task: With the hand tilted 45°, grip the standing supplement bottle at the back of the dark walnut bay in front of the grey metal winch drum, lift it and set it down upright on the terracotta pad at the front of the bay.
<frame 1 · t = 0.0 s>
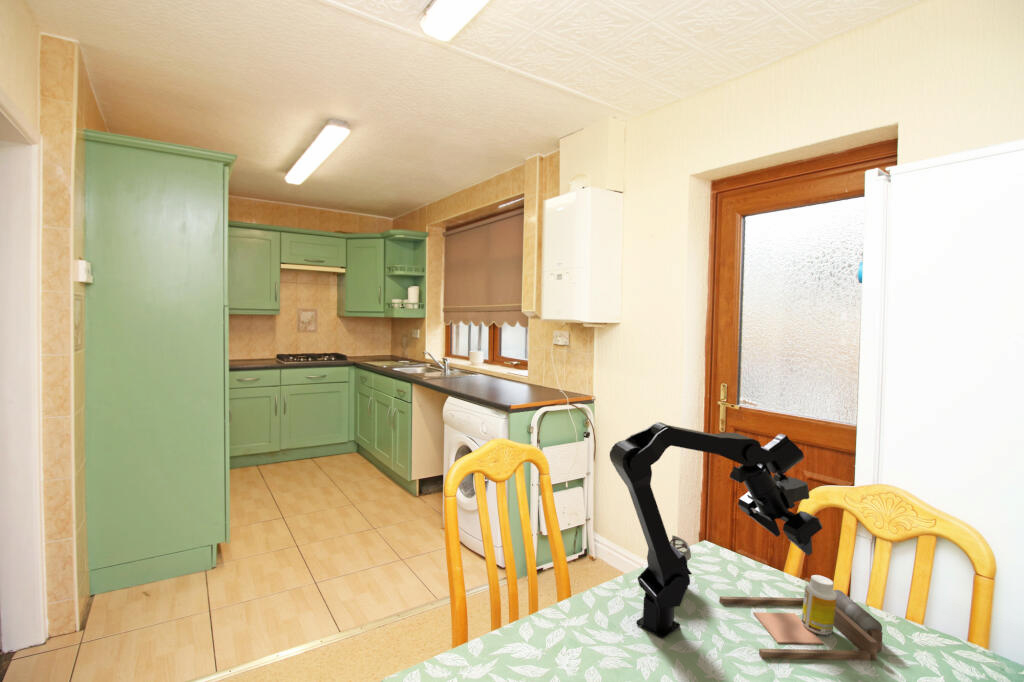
hand: (793, 544, 110), 15 cm above the table, tool tilted 35°, fingers open, 9 cm apart
food container: (675, 589, 119), on the table
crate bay: (796, 628, 105), on the table
supplement bottle: (816, 628, 105), resting in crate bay
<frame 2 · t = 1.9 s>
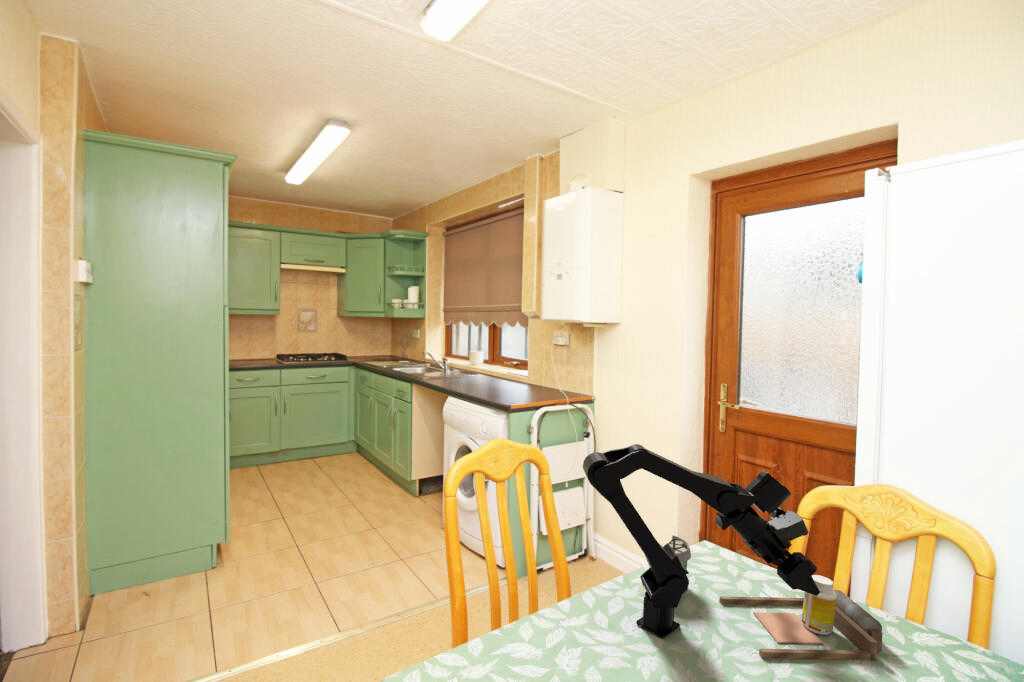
hand: (804, 581, 104), 10 cm above the table, tool tilted 45°, fingers open, 9 cm apart
nothing on the table moved.
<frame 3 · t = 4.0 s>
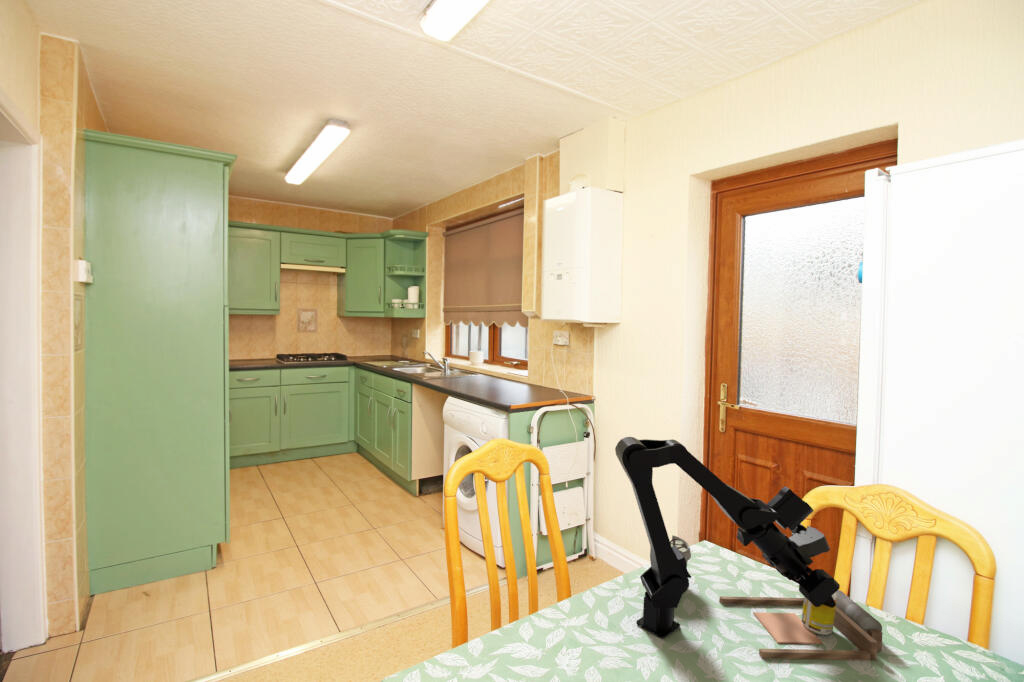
hand: (824, 597, 104), 7 cm above the table, tool tilted 45°, fingers closed on supplement bottle, 5 cm apart
supplement bottle: (816, 628, 105), resting in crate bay, touching gripper
everything else where it was.
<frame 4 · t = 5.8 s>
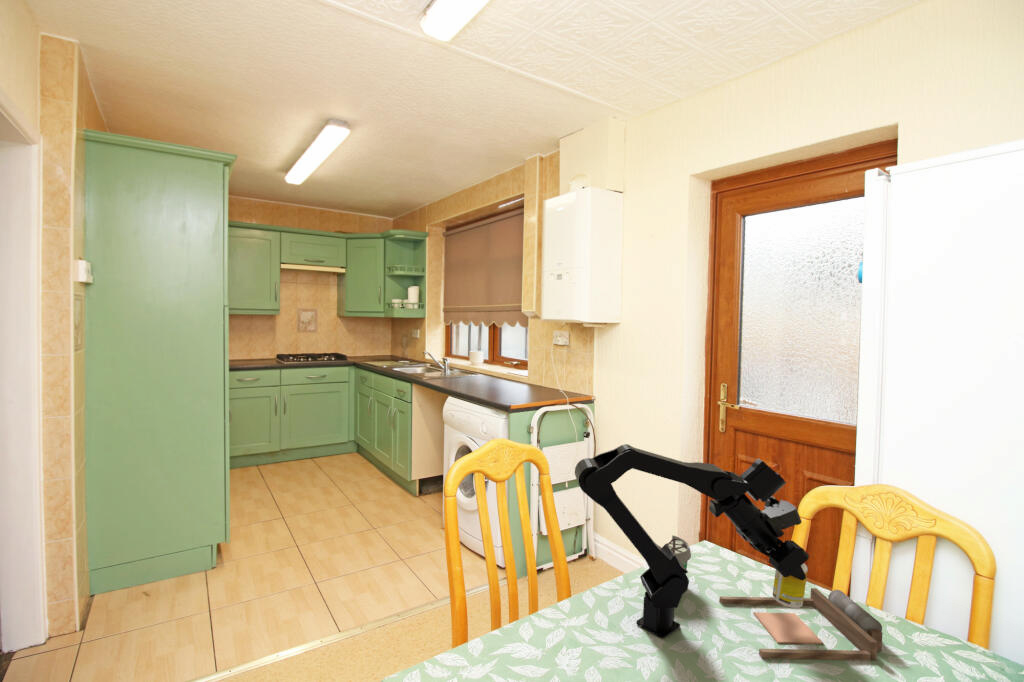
hand: (795, 571, 104), 12 cm above the table, tool tilted 45°, fingers closed on supplement bottle, 5 cm apart
supplement bottle: (786, 602, 104), point 5 cm above the table, touching gripper
everything else where it was.
when the fingers open (8 cm above the table, at t = 7.5 s): supplement bottle drops 2 cm, resting on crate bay.
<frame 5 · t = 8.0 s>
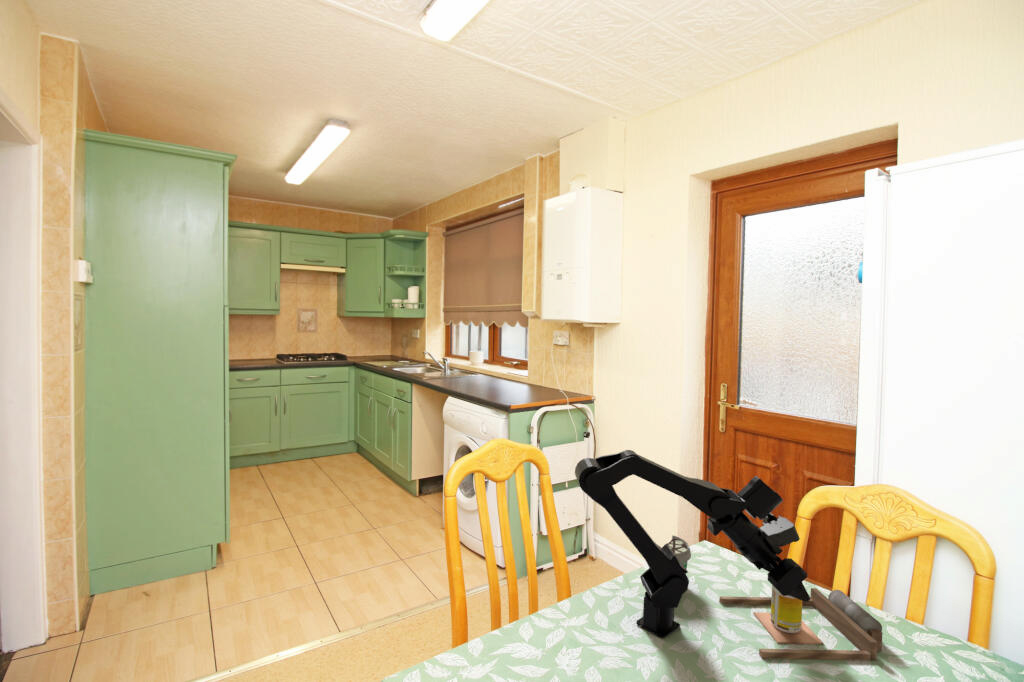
hand: (795, 587, 104), 9 cm above the table, tool tilted 45°, fingers open, 9 cm apart
supplement bottle: (785, 627, 105), resting on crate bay
everything else where it was.
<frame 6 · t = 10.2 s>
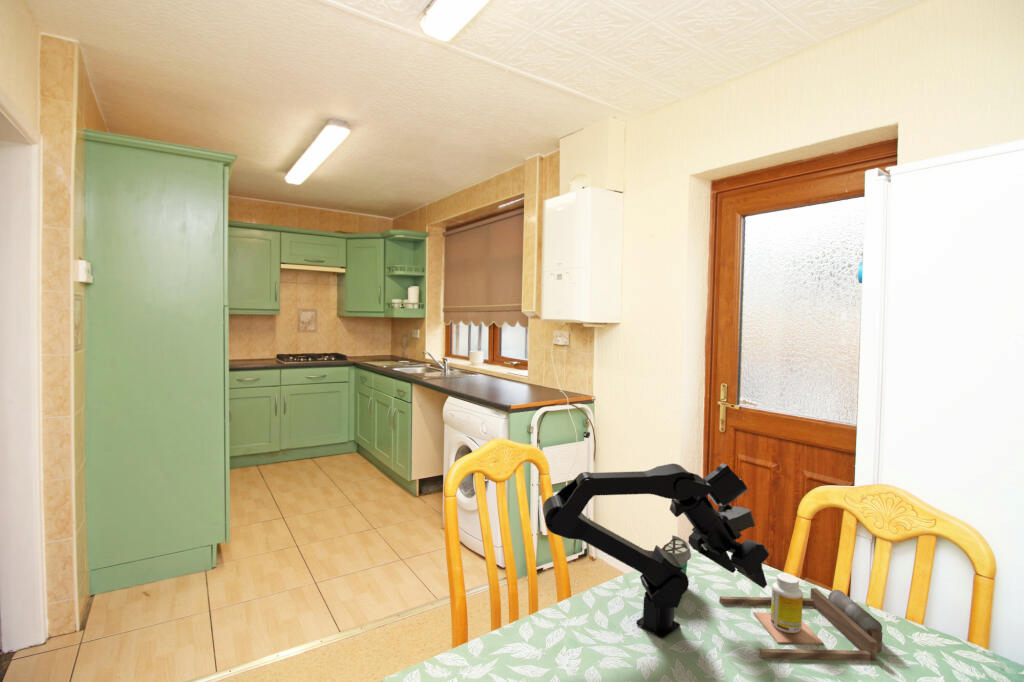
hand: (748, 578, 104), 10 cm above the table, tool tilted 40°, fingers open, 9 cm apart
nothing on the table moved.
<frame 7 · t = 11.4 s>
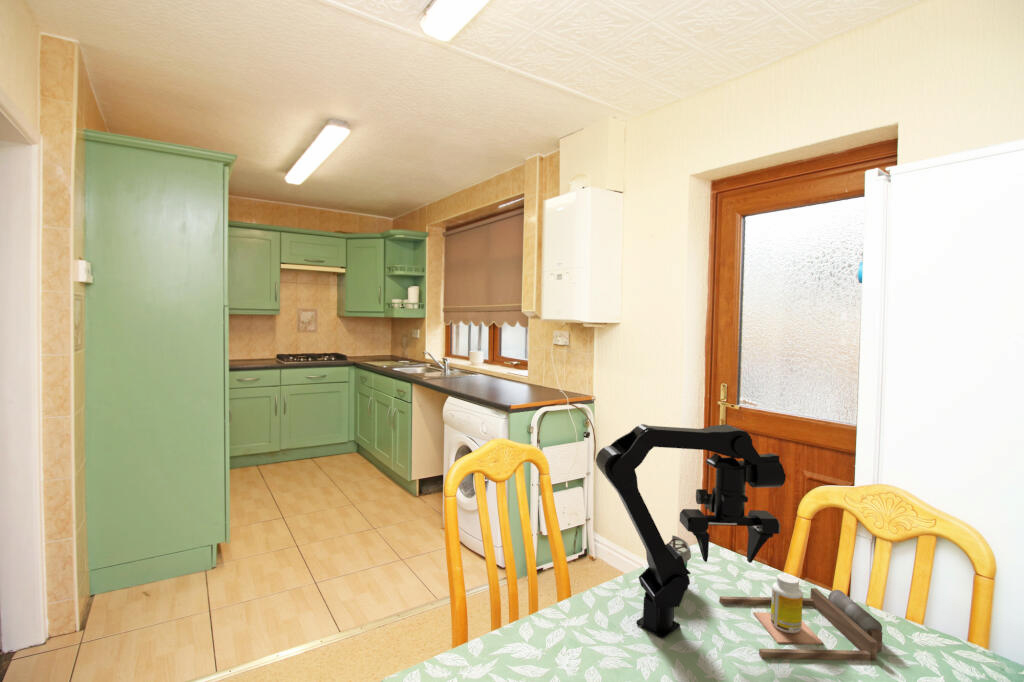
hand: (727, 561, 106), 13 cm above the table, tool pointing down, fingers open, 9 cm apart
nothing on the table moved.
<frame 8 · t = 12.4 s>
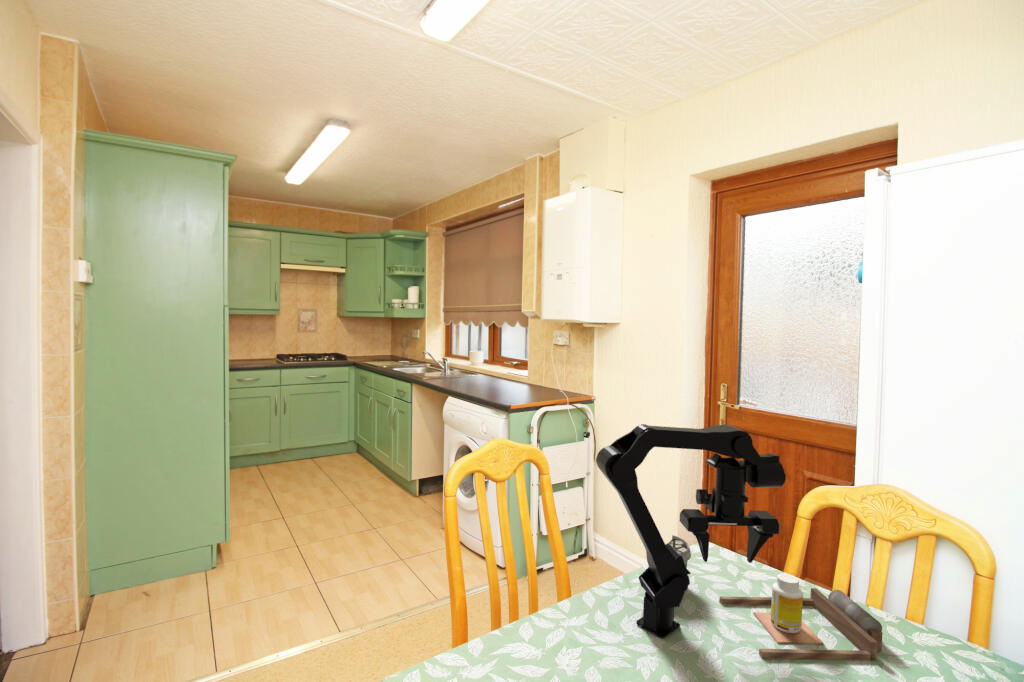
hand: (727, 561, 106), 13 cm above the table, tool pointing down, fingers open, 9 cm apart
nothing on the table moved.
at the end: supplement bottle 0.1 cm from the target spot, resting on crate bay; supplement bottle tilted 0°; the gripper is holding nothing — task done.
